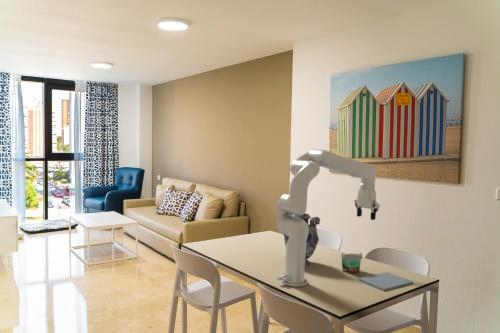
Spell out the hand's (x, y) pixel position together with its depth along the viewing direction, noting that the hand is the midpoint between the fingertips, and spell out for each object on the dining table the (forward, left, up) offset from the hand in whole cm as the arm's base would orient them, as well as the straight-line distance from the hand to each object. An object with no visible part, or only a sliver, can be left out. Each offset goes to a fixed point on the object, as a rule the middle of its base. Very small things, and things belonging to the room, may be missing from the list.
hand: (365, 217), depth 220 cm
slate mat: (-6, -20, -28) cm, 35 cm away
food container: (-10, -2, -28) cm, 30 cm away
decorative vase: (-25, +24, -28) cm, 45 cm away
